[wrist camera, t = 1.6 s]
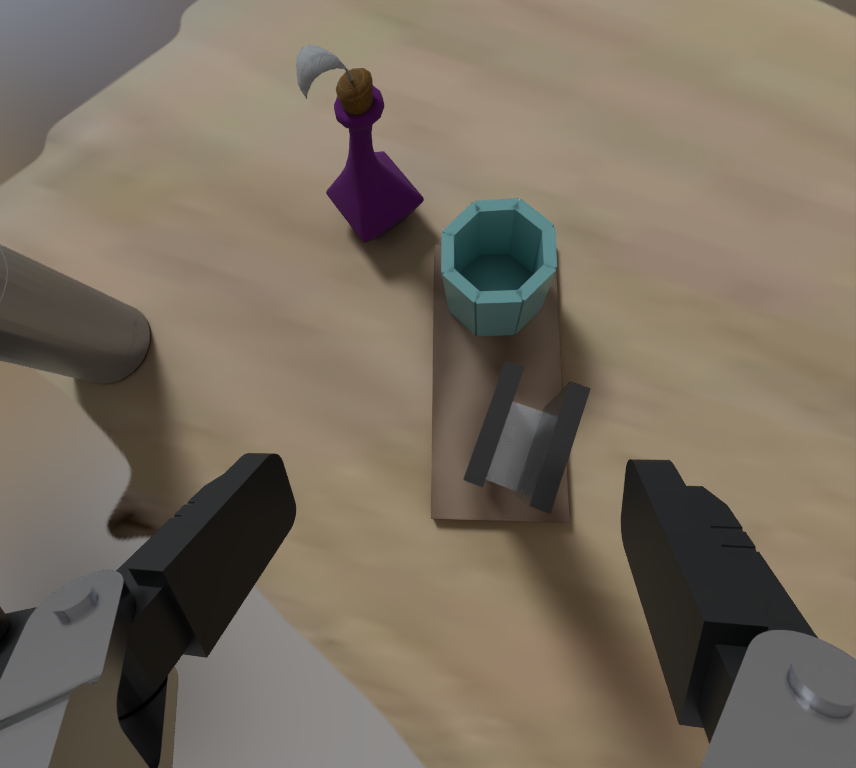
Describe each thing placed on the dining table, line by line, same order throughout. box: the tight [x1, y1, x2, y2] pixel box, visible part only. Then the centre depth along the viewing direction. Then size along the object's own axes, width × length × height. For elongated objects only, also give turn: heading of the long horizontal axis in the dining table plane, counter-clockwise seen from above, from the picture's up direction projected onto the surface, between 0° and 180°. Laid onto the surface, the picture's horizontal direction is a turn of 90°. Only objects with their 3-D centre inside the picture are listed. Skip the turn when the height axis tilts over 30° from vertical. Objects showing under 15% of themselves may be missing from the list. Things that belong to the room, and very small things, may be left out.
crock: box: [441, 198, 557, 336], centre depth 37 cm, size 9×9×8 cm
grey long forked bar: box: [463, 361, 590, 514], centre depth 26 cm, size 4×4×24 cm
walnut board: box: [431, 244, 570, 523], centre depth 39 cm, size 12×27×1 cm, turn 179°
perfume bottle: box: [296, 45, 424, 242], centre depth 36 cm, size 8×8×18 cm
